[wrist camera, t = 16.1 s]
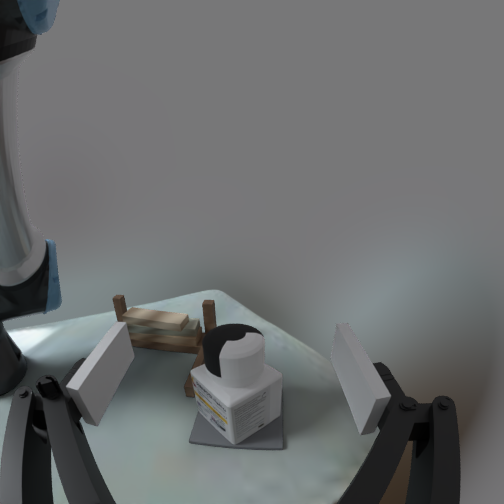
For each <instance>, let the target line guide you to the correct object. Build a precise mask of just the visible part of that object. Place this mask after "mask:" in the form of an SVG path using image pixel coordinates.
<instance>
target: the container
mask: <svg viewBox="0 0 504 504" xmlns="http://www.w3.org/2000/svg"><path fill="white" fill-rule="evenodd" d="M202 347H203V355H204V362H205V364H203V365H201V366H198V367H196V368H194V369H192V370H191V378H192V383H193V387H194V392H195V397H196V402H197V406H198V410H199V412H200V413H201V414H202V415H203V416H204V417H205V418H206V419H207V420H208V421H209V422H210V423H211V424H212V425H213V426H214V427H215V428H216V429H217V430H218V431H219V432H220V433H221V434H222V435H223V436H224V437H225V438H227V439H228V440H229V441H230V442H231V443H232V444H234V445H235V444H238V443H239V442H241V441H243V440H244V439H246V438H247V437H249V436H250V435H252V434H254V433H255V432H257V431H258V430H260V429H261V428H263V427H264V426H266V425H267V424H269V423H270V422H272V421H273V420H274V419H276V418H277V417H279V416H280V411H281V396H282V380H283V375H282V373H281V372H279V371H277V370H276V369H274V368H272V367H271V366H269V365H267V364H266V363H265V339H264V336H263V335H262V333H261V332H260V331H258V330H257V329H256V328H254V327H252V326H249V325H244V324H226V325H221V326H218V327H215V328H213V329H211V330H210V331H209V332H208V333H207V334H206V335H205V336H204V338H203V340H202Z"/></svg>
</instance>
